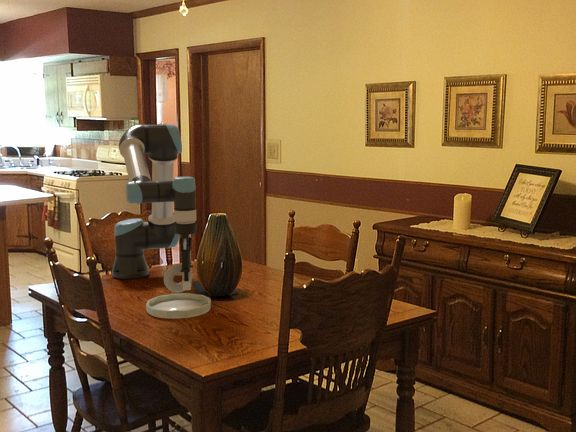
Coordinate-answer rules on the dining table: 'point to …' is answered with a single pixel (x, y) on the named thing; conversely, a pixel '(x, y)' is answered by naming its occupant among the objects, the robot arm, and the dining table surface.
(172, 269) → the donut
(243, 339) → the dining table surface
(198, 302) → the dish
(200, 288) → the dark slate chunk
